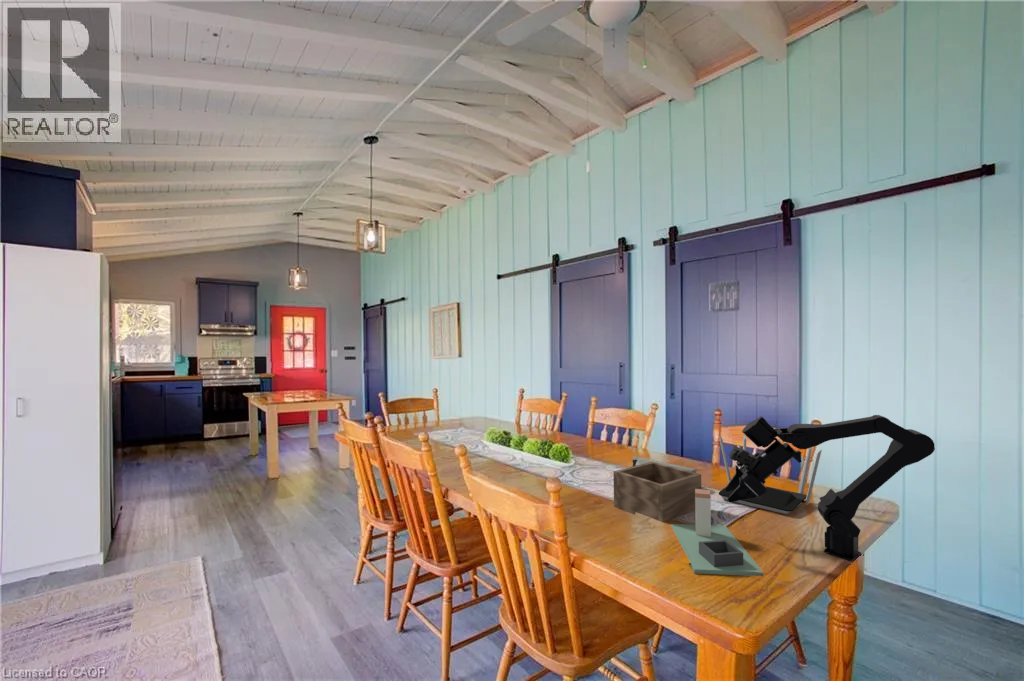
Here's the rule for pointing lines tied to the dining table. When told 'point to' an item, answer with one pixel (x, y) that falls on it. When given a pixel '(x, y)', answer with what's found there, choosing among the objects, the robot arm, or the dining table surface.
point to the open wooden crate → (656, 490)
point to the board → (718, 532)
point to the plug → (703, 512)
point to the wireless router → (776, 497)
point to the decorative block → (640, 461)
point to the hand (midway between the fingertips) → (727, 495)
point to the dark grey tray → (720, 553)
